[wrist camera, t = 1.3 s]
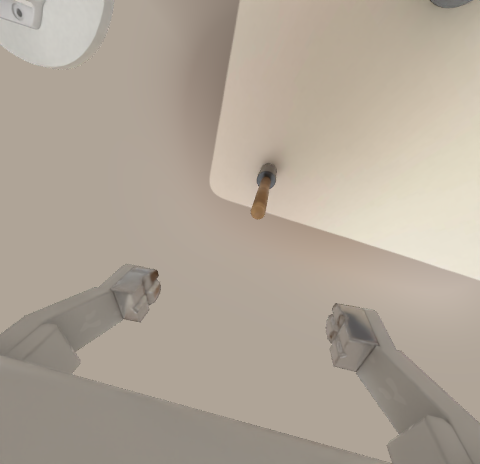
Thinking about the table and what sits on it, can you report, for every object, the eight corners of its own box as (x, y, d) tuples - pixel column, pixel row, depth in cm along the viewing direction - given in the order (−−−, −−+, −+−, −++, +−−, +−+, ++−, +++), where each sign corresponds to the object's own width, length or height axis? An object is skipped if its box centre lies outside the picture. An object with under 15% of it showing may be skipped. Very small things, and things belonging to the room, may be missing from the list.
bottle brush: (259, 178, 35) (241, 225, 19) (261, 162, 33) (243, 199, 18) (275, 180, 34) (269, 230, 19) (277, 164, 33) (274, 203, 17)
